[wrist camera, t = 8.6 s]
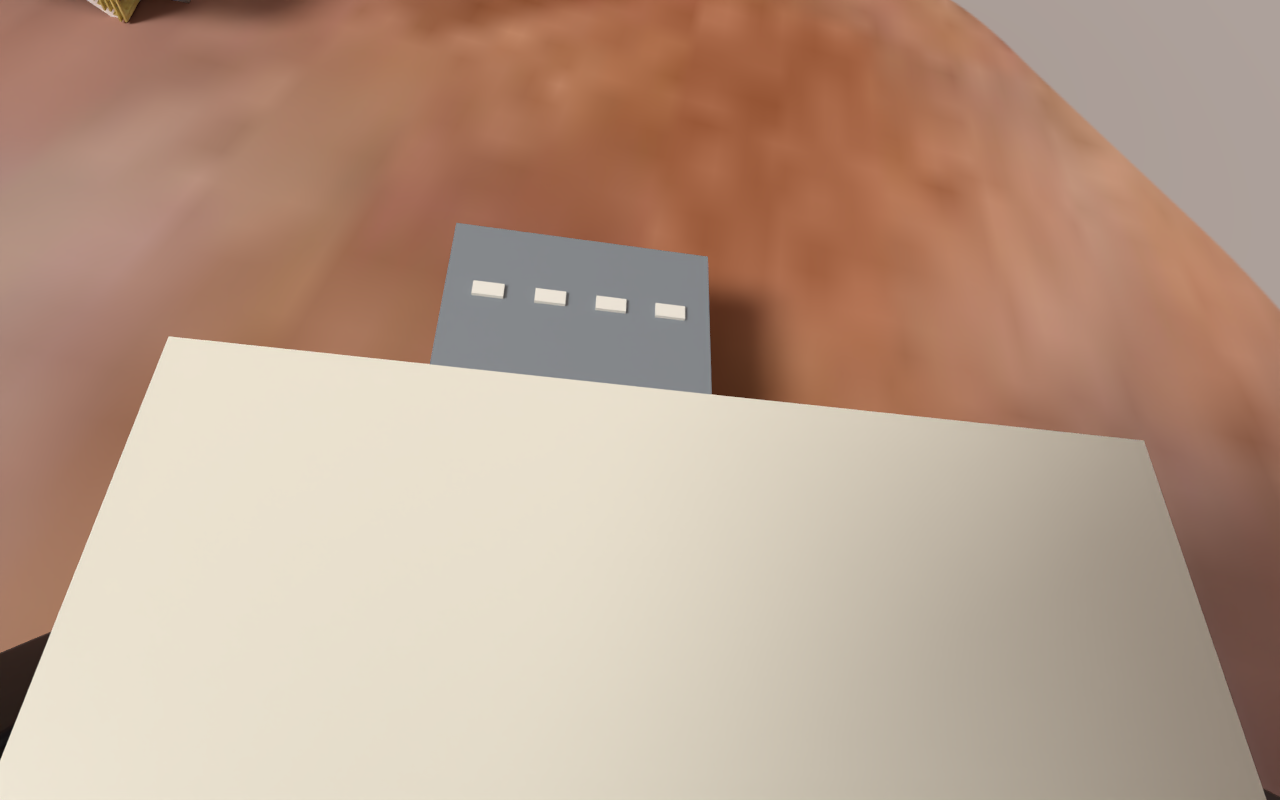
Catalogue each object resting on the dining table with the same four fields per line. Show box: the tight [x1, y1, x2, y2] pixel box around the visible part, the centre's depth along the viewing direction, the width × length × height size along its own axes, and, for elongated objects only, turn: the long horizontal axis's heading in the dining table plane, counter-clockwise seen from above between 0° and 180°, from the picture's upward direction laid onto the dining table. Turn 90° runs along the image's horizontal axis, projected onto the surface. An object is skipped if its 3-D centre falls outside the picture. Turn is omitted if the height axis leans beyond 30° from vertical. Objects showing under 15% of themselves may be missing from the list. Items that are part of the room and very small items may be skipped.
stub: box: [0, 337, 1266, 800], centre depth 8 cm, size 3×6×12 cm, turn 88°
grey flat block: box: [430, 223, 712, 394], centre depth 18 cm, size 16×7×4 cm, turn 178°
